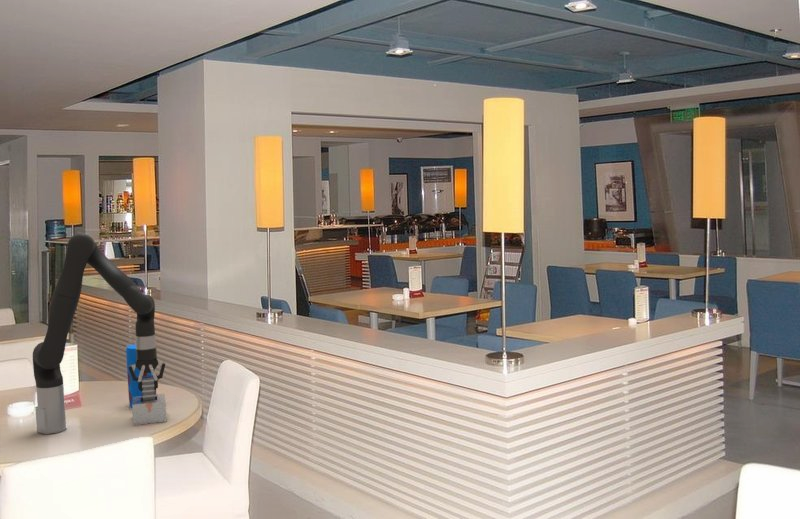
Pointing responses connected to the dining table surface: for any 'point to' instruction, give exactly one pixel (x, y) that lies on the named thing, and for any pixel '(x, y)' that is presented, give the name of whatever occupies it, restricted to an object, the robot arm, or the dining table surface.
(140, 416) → the housing
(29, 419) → the dining table surface
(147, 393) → the column
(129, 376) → the thermos
